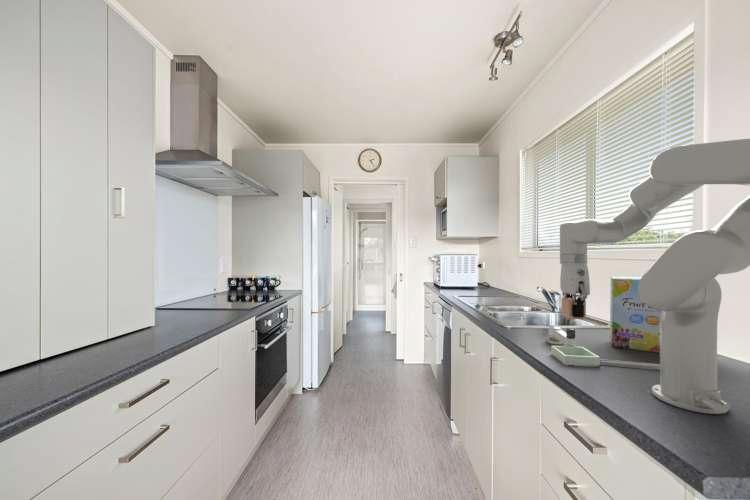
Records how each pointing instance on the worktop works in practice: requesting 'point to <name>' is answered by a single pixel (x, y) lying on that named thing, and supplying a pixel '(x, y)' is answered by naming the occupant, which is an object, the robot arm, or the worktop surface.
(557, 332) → the crank
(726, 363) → the worktop surface
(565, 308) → the block
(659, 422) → the worktop surface
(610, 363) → the adjustable wrench
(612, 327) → the snack box
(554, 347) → the tray
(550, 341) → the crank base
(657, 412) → the worktop surface
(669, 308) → the robot arm
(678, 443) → the worktop surface
